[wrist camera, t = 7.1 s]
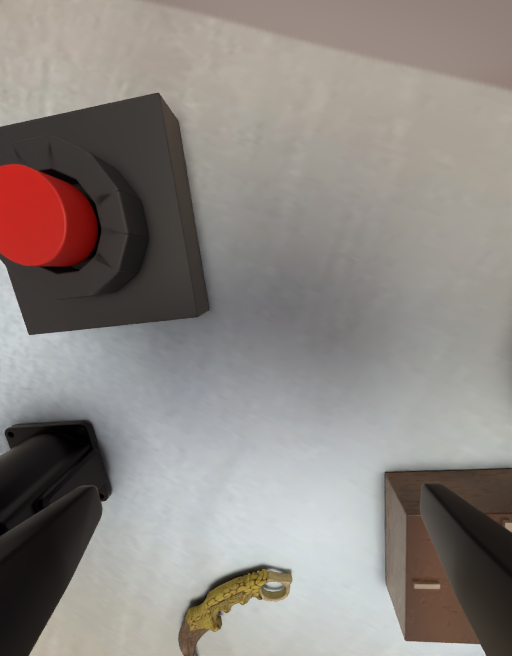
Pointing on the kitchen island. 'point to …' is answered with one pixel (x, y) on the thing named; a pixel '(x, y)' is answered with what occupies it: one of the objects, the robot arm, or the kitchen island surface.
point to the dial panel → (433, 550)
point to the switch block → (113, 218)
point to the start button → (44, 219)
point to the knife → (228, 604)
